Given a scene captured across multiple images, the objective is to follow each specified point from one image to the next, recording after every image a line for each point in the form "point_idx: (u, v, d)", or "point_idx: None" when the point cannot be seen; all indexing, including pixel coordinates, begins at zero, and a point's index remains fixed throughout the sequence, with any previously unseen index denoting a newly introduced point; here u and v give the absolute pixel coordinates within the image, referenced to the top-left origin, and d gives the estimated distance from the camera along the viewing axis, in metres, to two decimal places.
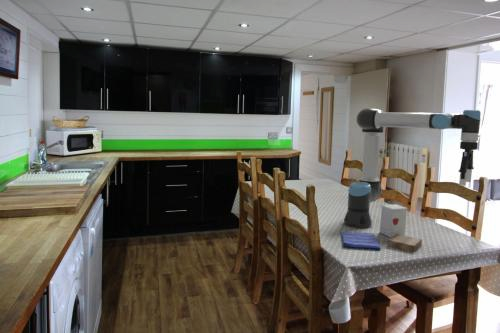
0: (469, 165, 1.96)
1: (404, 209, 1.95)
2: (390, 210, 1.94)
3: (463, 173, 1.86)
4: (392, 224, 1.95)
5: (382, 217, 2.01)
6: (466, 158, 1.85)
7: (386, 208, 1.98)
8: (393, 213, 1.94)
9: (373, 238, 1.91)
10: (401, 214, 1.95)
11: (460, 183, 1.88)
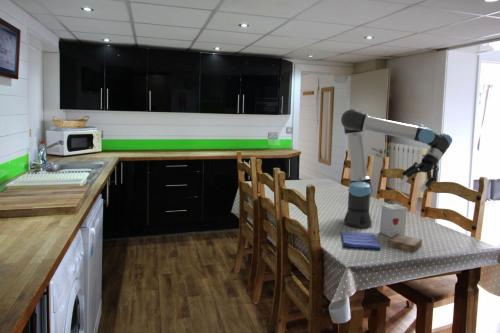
0: (410, 174, 2.09)
1: (404, 209, 1.95)
2: (390, 210, 1.94)
3: (430, 182, 1.96)
4: (392, 224, 1.95)
5: (382, 217, 2.01)
6: (437, 171, 1.99)
7: (386, 208, 1.97)
8: (393, 213, 1.94)
9: (373, 238, 1.91)
10: (401, 214, 1.95)
11: (422, 188, 1.96)
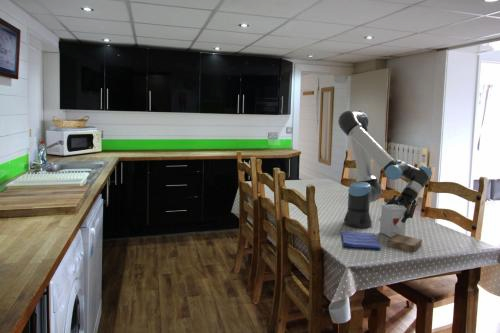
0: None
1: (404, 209, 1.95)
2: (390, 210, 1.94)
3: (406, 218, 1.94)
4: (392, 224, 1.94)
5: (382, 217, 2.01)
6: (415, 207, 1.96)
7: (386, 208, 1.97)
8: (393, 213, 1.94)
9: (373, 238, 1.91)
10: (401, 214, 1.95)
11: (398, 224, 1.93)
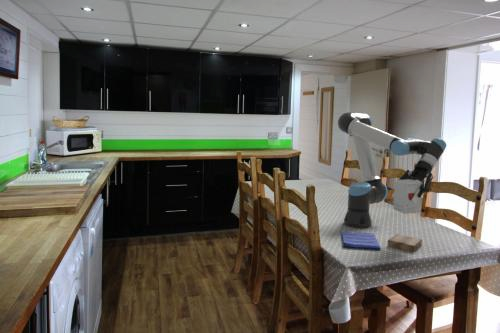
0: None
1: (419, 183, 1.82)
2: (405, 185, 1.81)
3: (422, 192, 1.81)
4: (408, 199, 1.81)
5: (396, 193, 1.87)
6: (430, 181, 1.83)
7: (400, 183, 1.84)
8: (408, 187, 1.80)
9: (373, 238, 1.91)
10: (416, 189, 1.82)
11: (414, 199, 1.80)
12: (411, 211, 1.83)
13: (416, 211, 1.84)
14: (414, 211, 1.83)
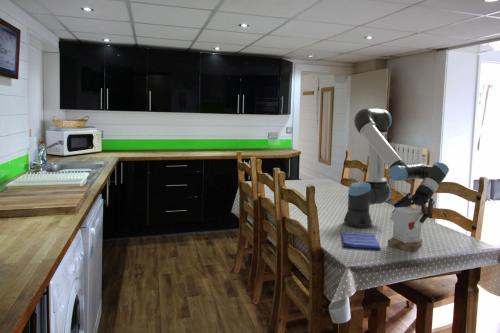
0: None
1: (420, 212, 1.78)
2: (406, 214, 1.76)
3: (425, 218, 1.75)
4: (408, 229, 1.77)
5: (395, 221, 1.83)
6: (432, 206, 1.78)
7: (400, 211, 1.80)
8: (409, 216, 1.76)
9: (373, 238, 1.91)
10: (417, 218, 1.78)
11: (416, 224, 1.75)
12: (411, 240, 1.78)
13: (416, 240, 1.79)
14: (414, 240, 1.79)
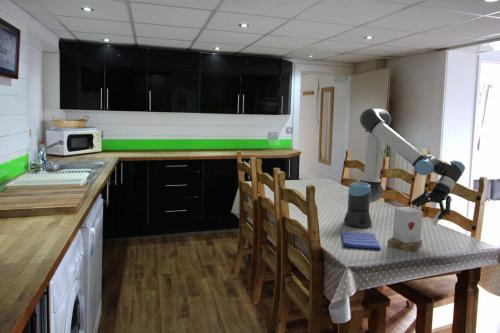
0: (420, 204, 1.94)
1: (420, 212, 1.78)
2: (406, 214, 1.76)
3: (443, 214, 1.82)
4: (408, 229, 1.77)
5: (395, 221, 1.83)
6: (449, 203, 1.84)
7: (400, 211, 1.80)
8: (409, 216, 1.76)
9: (373, 238, 1.91)
10: (417, 218, 1.78)
11: (434, 221, 1.81)
12: (411, 240, 1.78)
13: (416, 240, 1.79)
14: (414, 240, 1.79)
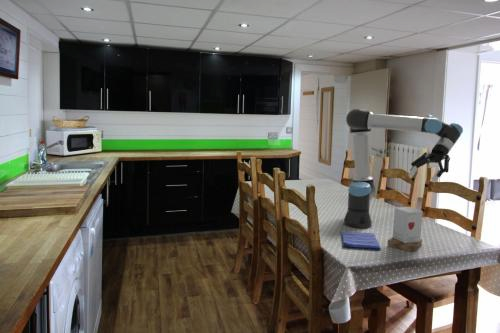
0: (420, 165, 2.03)
1: (420, 212, 1.78)
2: (406, 214, 1.76)
3: (442, 172, 1.90)
4: (408, 229, 1.77)
5: (395, 221, 1.83)
6: (448, 162, 1.93)
7: (400, 211, 1.80)
8: (409, 216, 1.76)
9: (373, 238, 1.91)
10: (417, 218, 1.78)
11: (434, 178, 1.89)
12: (411, 240, 1.78)
13: (416, 240, 1.79)
14: (414, 240, 1.79)
